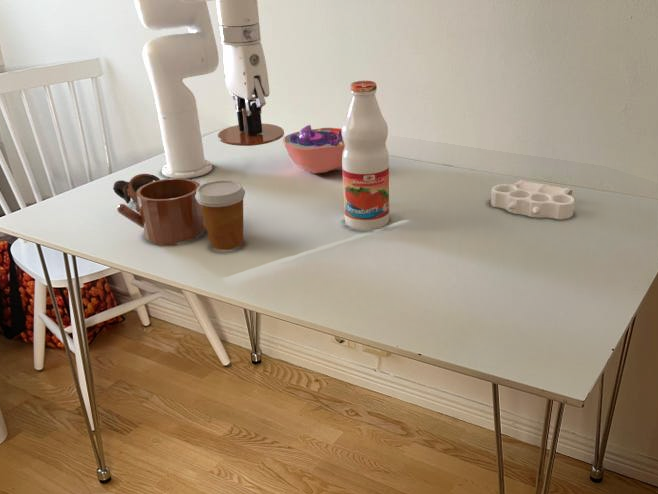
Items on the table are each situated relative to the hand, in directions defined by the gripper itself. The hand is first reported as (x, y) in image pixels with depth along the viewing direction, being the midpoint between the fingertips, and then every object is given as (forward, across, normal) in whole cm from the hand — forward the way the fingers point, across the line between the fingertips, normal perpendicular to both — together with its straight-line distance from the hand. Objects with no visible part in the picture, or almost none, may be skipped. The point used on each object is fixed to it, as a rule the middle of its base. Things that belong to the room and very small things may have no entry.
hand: (250, 131), depth 143 cm
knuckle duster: (+18, -34, -49) cm, 62 cm away
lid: (+1, 0, 0) cm, 1 cm away
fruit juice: (+18, -18, -16) cm, 30 cm away
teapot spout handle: (+16, +4, +18) cm, 25 cm away
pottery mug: (+19, +22, +18) cm, 34 cm away
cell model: (+19, +15, -27) cm, 36 cm away
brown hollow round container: (+18, +3, +18) cm, 26 cm away
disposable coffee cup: (+18, -9, +13) cm, 24 cm away
